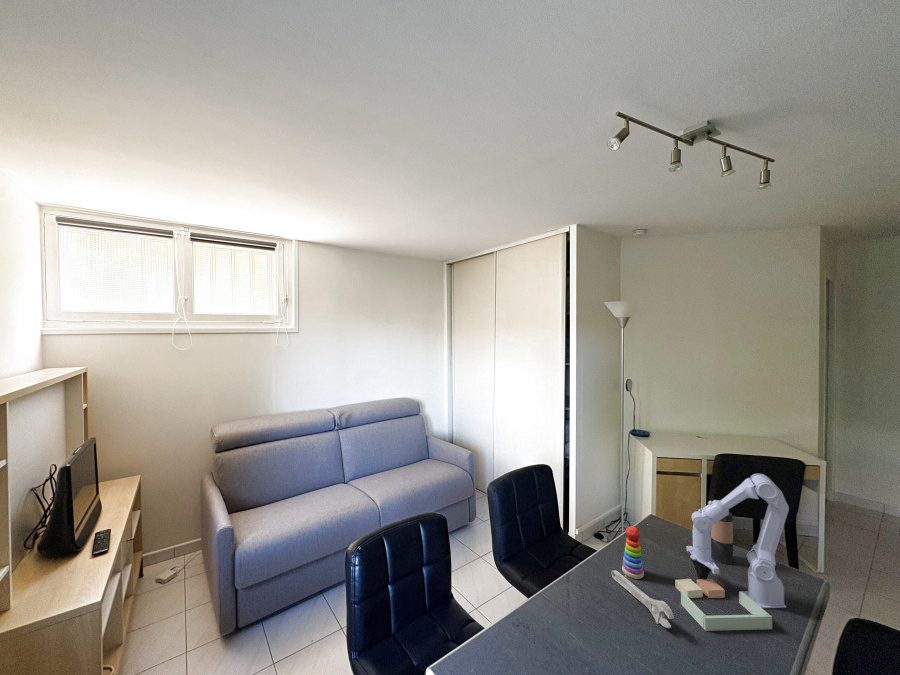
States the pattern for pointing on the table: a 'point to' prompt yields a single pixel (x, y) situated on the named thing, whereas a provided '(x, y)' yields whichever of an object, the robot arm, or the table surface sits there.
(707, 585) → the terracotta tile
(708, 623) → the box
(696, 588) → the sand tile
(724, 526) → the travel mug
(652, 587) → the table surface
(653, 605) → the wrench
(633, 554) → the stacking toy
